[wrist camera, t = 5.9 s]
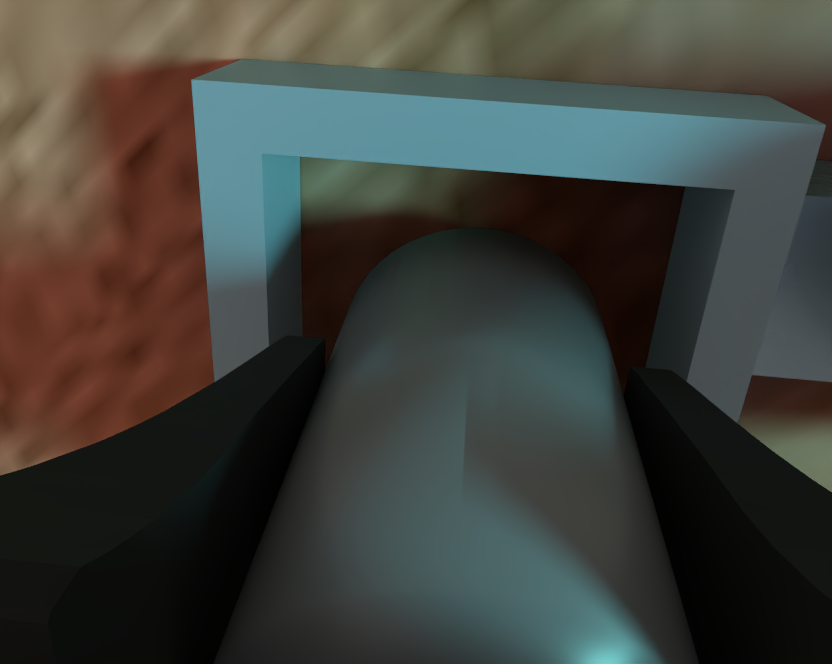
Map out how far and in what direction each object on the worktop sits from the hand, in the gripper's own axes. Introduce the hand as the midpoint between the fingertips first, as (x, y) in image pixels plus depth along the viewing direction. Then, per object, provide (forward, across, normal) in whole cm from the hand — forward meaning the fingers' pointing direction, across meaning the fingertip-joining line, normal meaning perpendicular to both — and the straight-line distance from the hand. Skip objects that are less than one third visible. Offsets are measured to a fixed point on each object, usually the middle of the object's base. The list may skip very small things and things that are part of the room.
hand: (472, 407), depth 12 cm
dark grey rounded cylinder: (+2, 0, 0) cm, 2 cm away
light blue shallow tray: (+3, 0, 0) cm, 3 cm away
